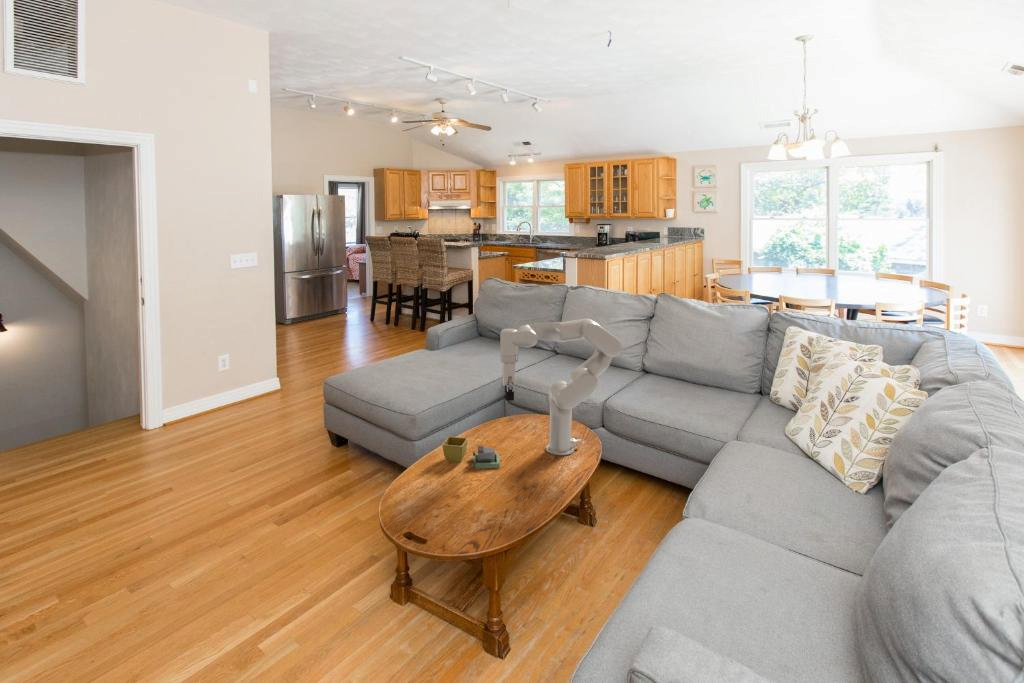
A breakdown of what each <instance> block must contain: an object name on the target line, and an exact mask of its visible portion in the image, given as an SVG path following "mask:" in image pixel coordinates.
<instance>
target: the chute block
mask: <svg viewBox="0 0 1024 683" xmlns="http://www.w3.org/2000/svg"><path fill="white" fill-rule="evenodd" d="M495 453H496V452H495V446H494V447H492V446H491V447H484V445H477V454H478V459H477V463H495V462H496V460H495Z"/></svg>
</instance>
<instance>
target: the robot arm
mask: <svg viewBox="0 0 1024 683" xmlns="http://www.w3.org/2000/svg"><path fill="white" fill-rule="evenodd" d="M499 338H500V339H499V340H500V346H499V347H500V363H502V385H503V387H504V392H505V395H506V398H505V400H506V401H507V402H509V401H512V402H513V401H515V390H514V386H515V385H516V363H519V348H522V347H523V348H532V347H534V346H535V345H537V343H538V341H541V340H548V341H553V342H556V343H565V342H572V341H578V340H584V341H586V342H588V344H590V345H592V347H594V348H595V349H594V352H593V354H592V355H591V356H590V357H589V358H588V359H586V361H584V362H583V363H581V364H579V366H577V367H576V368H575V369H573V371H572V372H571V373H570V376H569V377H570V378H569V379H570V384H569V383H568V382H566V381H564V380H556V381H554V382H553V383H552V384H551V385H550V387H549V392H548V396H549V397H548V398H549V399H548V400H549V443H548V444H546V446H545V450H546V452H547V453H548V454H551V455H555V456H568V455H571V454H573V453H574V451H575V447H574V446H575V445H579V444H581V439H575V438H572V418H573V417H572V415H573V408H575V407H577V406H579V405H580V404H581V403H582V402H583V401H584V400H586V399H588V398H589V397H590V396H591V395H592V394H594V392H595V391H596V390H597V388H598V385H599V381H598V377H599V376H601V375H602V374H603V373H604V372H606V370H607V369H608V368H609V367H610V365H611V363H612V359H613V358H616V357H618V356H620V354H621V353H622V351H623V343H622V341H621V340H620V339H619V338H617V337H616V336H615V335H613V334H612V333H611V332H610V331H608V330H606V329H605V328H604V327H602V326H601V325H600V324H599V323H598V322H596V321H594V320H593V319H591V318H579V319H573V320H567V321H559V322H553V321H552V322H537V323H536V322H535V323H528V324H524V325H521V326H519V327H518V328H517V329H516V328H511V327H510V328H509V327H507V328H504V329H503V328H502V329H501V331H500V335H499Z"/></svg>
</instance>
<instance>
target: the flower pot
mask: <svg viewBox="0 0 1024 683" xmlns="http://www.w3.org/2000/svg"><path fill="white" fill-rule="evenodd" d="M467 447H468V438H467V437H460V436H459V437H457V436H448V437H447V438H446V439H445V441H444V442H443V443H442V451H443V455H444V458H445V460H446V461H447V462H448V463H451V464H453V463H454V464H461V463H462V460H463V459H464V457H465V455H466V451H467V449H468V448H467Z"/></svg>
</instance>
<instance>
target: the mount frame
mask: <svg viewBox="0 0 1024 683" xmlns="http://www.w3.org/2000/svg"><path fill="white" fill-rule="evenodd" d="M495 459H496V460H495V463H478V462H476V460H478V453H476V451H472V469H475V470H476V469H499V468H501V467H500V454H499V453H498V452H495Z"/></svg>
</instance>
